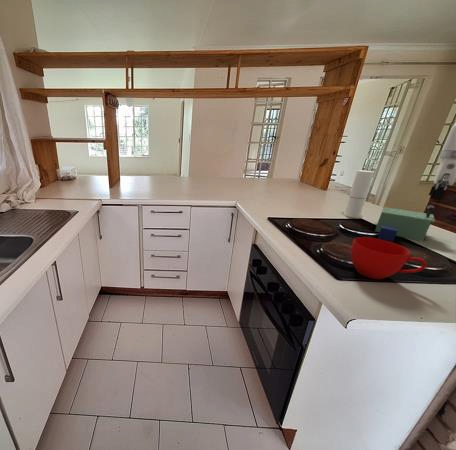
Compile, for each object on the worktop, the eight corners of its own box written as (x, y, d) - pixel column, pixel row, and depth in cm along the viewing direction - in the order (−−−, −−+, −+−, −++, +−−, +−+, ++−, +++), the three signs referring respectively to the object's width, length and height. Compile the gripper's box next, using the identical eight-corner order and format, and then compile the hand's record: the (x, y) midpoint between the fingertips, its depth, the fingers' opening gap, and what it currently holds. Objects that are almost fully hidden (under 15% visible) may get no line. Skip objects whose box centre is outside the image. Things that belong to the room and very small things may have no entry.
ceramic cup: (417, 297, 65) (433, 265, 61) (342, 273, 75) (351, 245, 72) (414, 278, 73) (427, 249, 70) (347, 259, 84) (355, 234, 81)
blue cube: (393, 238, 103) (397, 228, 101) (393, 241, 100) (397, 231, 98) (378, 235, 106) (382, 225, 105) (377, 238, 103) (381, 227, 101)
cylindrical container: (358, 215, 135) (373, 170, 126) (360, 218, 129) (375, 172, 120) (342, 213, 138) (356, 169, 129) (344, 216, 132) (358, 171, 124)
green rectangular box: (421, 233, 109) (429, 215, 106) (422, 241, 101) (431, 222, 97) (377, 225, 119) (383, 208, 116) (374, 231, 111) (381, 213, 108)
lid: (432, 216, 105) (437, 204, 103) (434, 222, 97) (439, 210, 95) (383, 208, 116) (387, 197, 114) (381, 213, 108) (385, 202, 106)
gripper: (472, 157, 85) (450, 202, 91) (465, 155, 96) (446, 196, 103) (441, 155, 90) (422, 199, 96) (438, 154, 101) (421, 193, 108)
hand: (434, 197), depth 99 cm, fingers open, 9 cm apart
